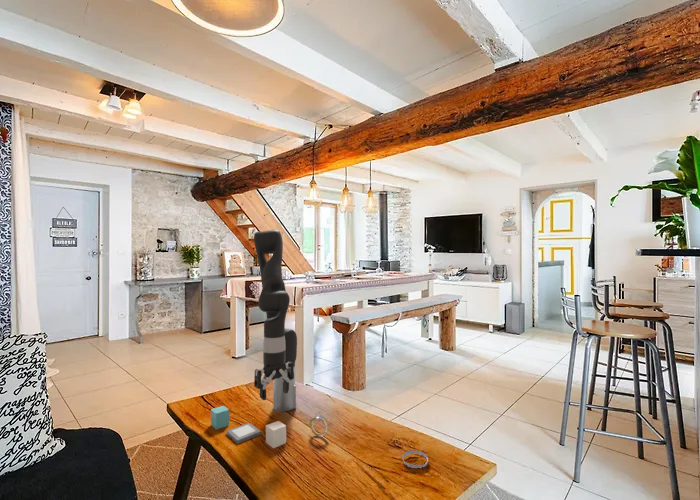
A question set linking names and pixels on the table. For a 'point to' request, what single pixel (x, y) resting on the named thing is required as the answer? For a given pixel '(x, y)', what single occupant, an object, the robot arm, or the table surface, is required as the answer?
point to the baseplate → (243, 433)
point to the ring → (320, 416)
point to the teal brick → (219, 417)
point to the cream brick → (275, 434)
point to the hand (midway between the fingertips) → (274, 396)
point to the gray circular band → (415, 453)
